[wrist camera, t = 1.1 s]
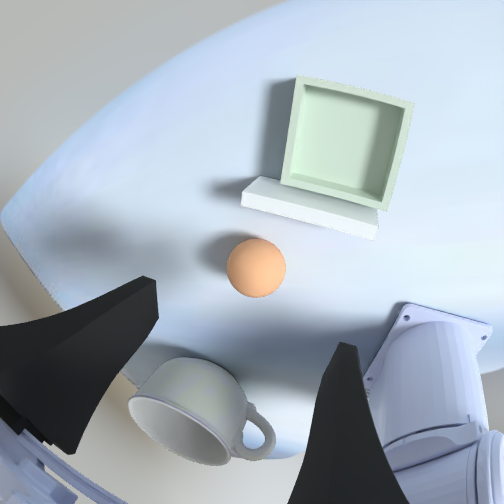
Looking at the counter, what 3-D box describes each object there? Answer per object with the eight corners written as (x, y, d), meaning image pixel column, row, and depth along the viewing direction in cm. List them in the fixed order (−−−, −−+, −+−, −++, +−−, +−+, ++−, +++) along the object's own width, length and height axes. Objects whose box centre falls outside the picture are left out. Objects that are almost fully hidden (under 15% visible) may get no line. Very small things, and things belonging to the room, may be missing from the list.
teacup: (168, 385, 34) (135, 435, 28) (159, 325, 29) (112, 384, 22) (278, 426, 31) (256, 485, 25) (301, 374, 26) (275, 452, 19)
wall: (372, 217, 17) (374, 240, 15) (258, 188, 19) (240, 205, 16) (376, 205, 17) (378, 226, 14) (259, 175, 18) (242, 191, 16)
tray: (384, 200, 16) (386, 211, 15) (287, 175, 18) (279, 183, 16) (408, 102, 13) (414, 103, 12) (302, 76, 14) (296, 74, 13)
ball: (285, 282, 21) (271, 316, 18) (236, 268, 22) (215, 298, 19) (296, 237, 19) (282, 267, 16) (241, 223, 20) (218, 249, 17)
